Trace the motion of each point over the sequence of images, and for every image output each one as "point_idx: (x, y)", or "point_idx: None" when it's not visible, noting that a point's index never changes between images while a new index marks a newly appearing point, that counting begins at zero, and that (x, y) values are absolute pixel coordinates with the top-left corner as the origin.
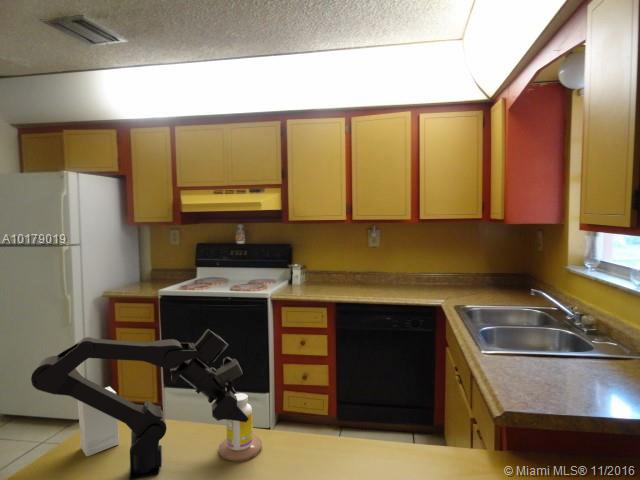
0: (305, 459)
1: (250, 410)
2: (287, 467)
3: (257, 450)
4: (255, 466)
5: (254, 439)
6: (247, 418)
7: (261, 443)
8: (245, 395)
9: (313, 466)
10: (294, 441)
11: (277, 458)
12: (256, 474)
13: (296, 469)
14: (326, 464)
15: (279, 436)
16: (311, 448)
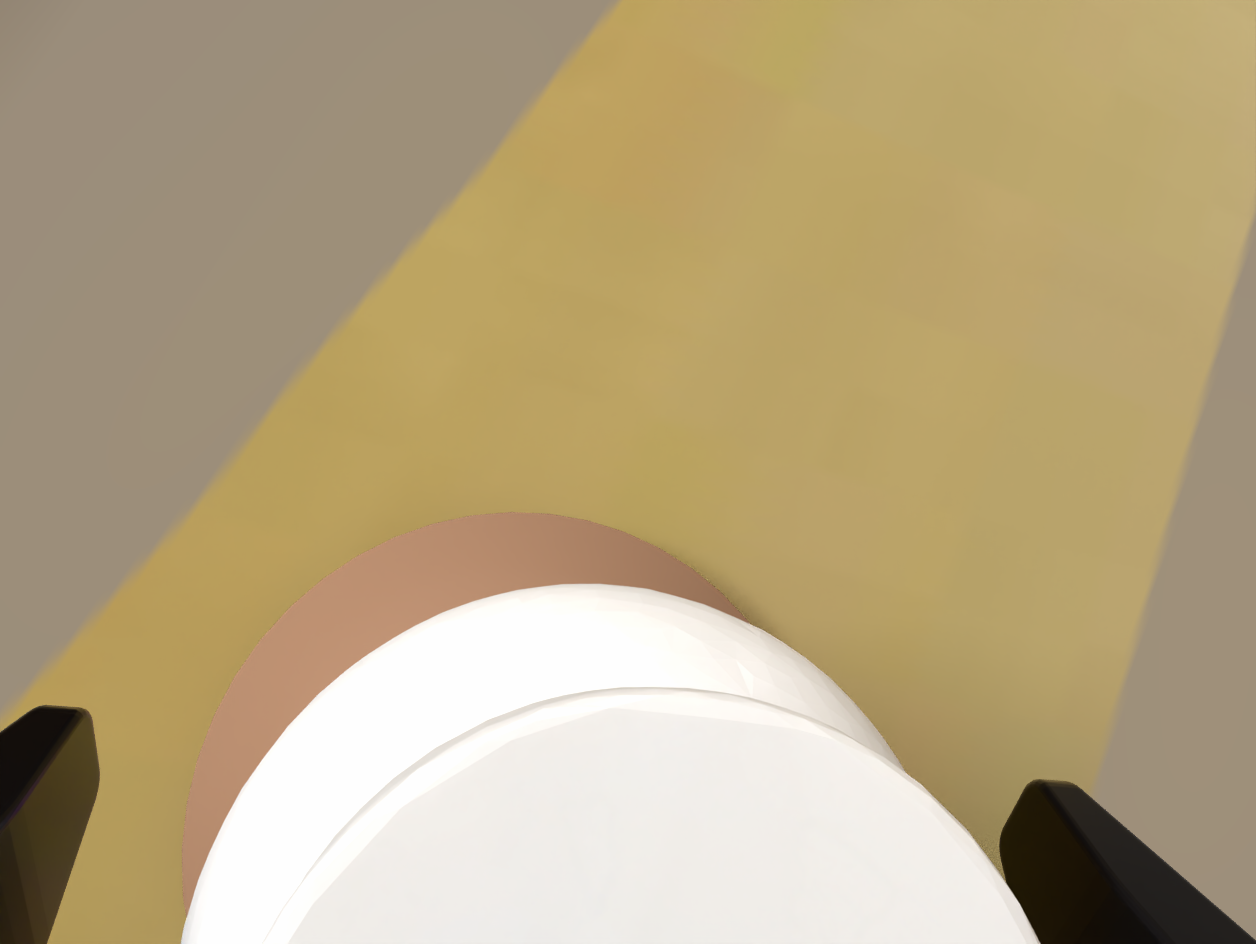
0: (1009, 176)
1: (802, 658)
2: (1085, 388)
3: (746, 622)
4: (963, 711)
5: (467, 594)
6: (1100, 815)
7: (614, 529)
8: (643, 783)
9: (1141, 158)
10: (629, 135)
11: (895, 430)
12: (1108, 736)
13: (1141, 320)
14: (1145, 44)
15: (431, 248)
16: (840, 40)
